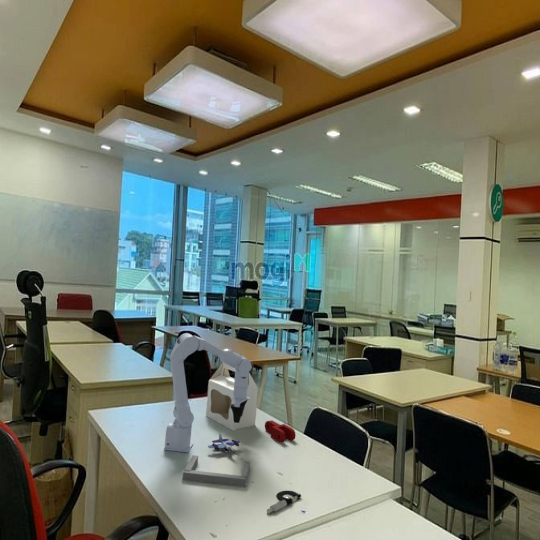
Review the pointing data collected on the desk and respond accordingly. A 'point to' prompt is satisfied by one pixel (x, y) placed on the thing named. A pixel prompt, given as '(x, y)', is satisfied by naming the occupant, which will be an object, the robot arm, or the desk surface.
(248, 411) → the gable box
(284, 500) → the micrometer
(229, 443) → the toy airplane
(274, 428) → the mechanical linkage
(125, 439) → the desk surface
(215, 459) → the desk surface
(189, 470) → the cradle
